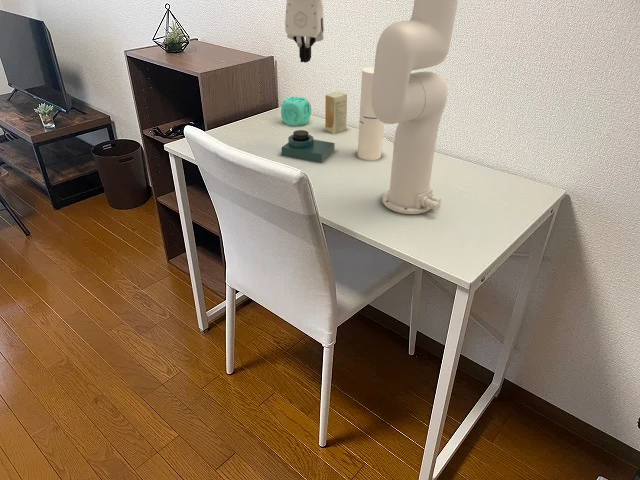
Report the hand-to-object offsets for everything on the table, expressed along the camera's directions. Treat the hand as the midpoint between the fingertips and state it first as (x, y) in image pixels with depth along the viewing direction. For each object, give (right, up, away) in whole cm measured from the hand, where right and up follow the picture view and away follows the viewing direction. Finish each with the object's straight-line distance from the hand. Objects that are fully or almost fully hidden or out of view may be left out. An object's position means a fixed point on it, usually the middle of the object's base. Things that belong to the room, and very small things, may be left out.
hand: (305, 61), depth 141 cm
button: (-2, -21, +7) cm, 22 cm away
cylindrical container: (+19, -26, +8) cm, 33 cm away
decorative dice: (-4, -10, +32) cm, 34 cm away
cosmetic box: (+9, -14, +26) cm, 31 cm away
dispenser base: (+1, -25, +8) cm, 26 cm away
